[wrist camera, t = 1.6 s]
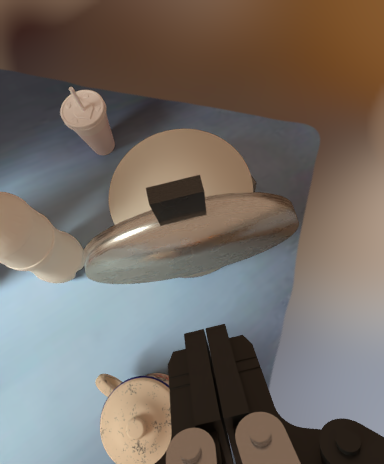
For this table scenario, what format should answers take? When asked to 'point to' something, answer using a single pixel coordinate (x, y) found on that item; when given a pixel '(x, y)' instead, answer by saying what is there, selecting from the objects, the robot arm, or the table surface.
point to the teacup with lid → (135, 418)
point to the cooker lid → (188, 234)
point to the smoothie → (88, 119)
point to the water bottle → (36, 243)
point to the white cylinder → (176, 170)
